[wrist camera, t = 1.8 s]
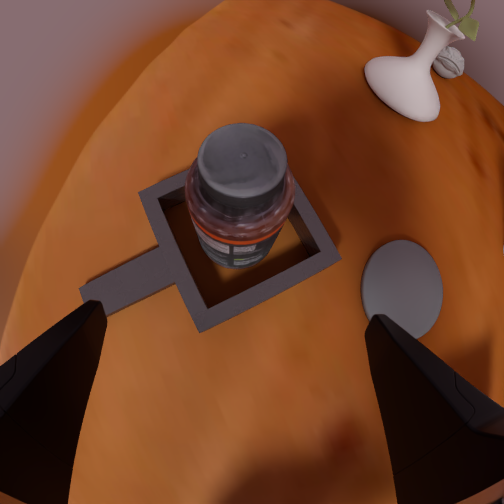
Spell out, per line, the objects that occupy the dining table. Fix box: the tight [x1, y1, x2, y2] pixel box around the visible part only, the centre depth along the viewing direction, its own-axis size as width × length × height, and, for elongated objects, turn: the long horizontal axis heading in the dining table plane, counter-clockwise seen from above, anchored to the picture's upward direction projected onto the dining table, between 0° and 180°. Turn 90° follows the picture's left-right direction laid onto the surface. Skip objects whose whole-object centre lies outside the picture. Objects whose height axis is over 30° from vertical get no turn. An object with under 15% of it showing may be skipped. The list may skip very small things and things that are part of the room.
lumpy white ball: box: [432, 46, 464, 78], centre depth 30 cm, size 6×7×7 cm
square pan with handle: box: [79, 169, 342, 333], centre depth 21 cm, size 19×11×2 cm, turn 117°
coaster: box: [361, 240, 443, 339], centre depth 22 cm, size 9×9×1 cm
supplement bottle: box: [185, 123, 295, 269], centre depth 17 cm, size 6×6×11 cm
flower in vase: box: [364, 0, 479, 122], centre depth 17 cm, size 13×11×25 cm
